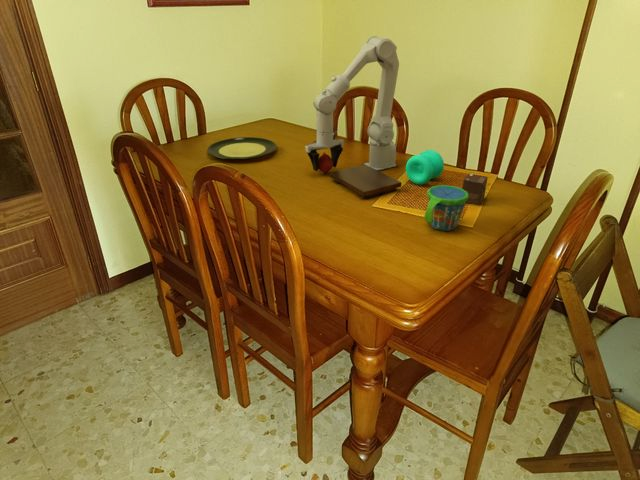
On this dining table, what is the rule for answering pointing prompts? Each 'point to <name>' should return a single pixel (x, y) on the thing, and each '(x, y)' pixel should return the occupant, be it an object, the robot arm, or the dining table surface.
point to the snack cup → (445, 206)
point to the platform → (365, 180)
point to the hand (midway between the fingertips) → (324, 168)
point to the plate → (241, 148)
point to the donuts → (424, 167)
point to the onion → (325, 163)
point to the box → (475, 188)
